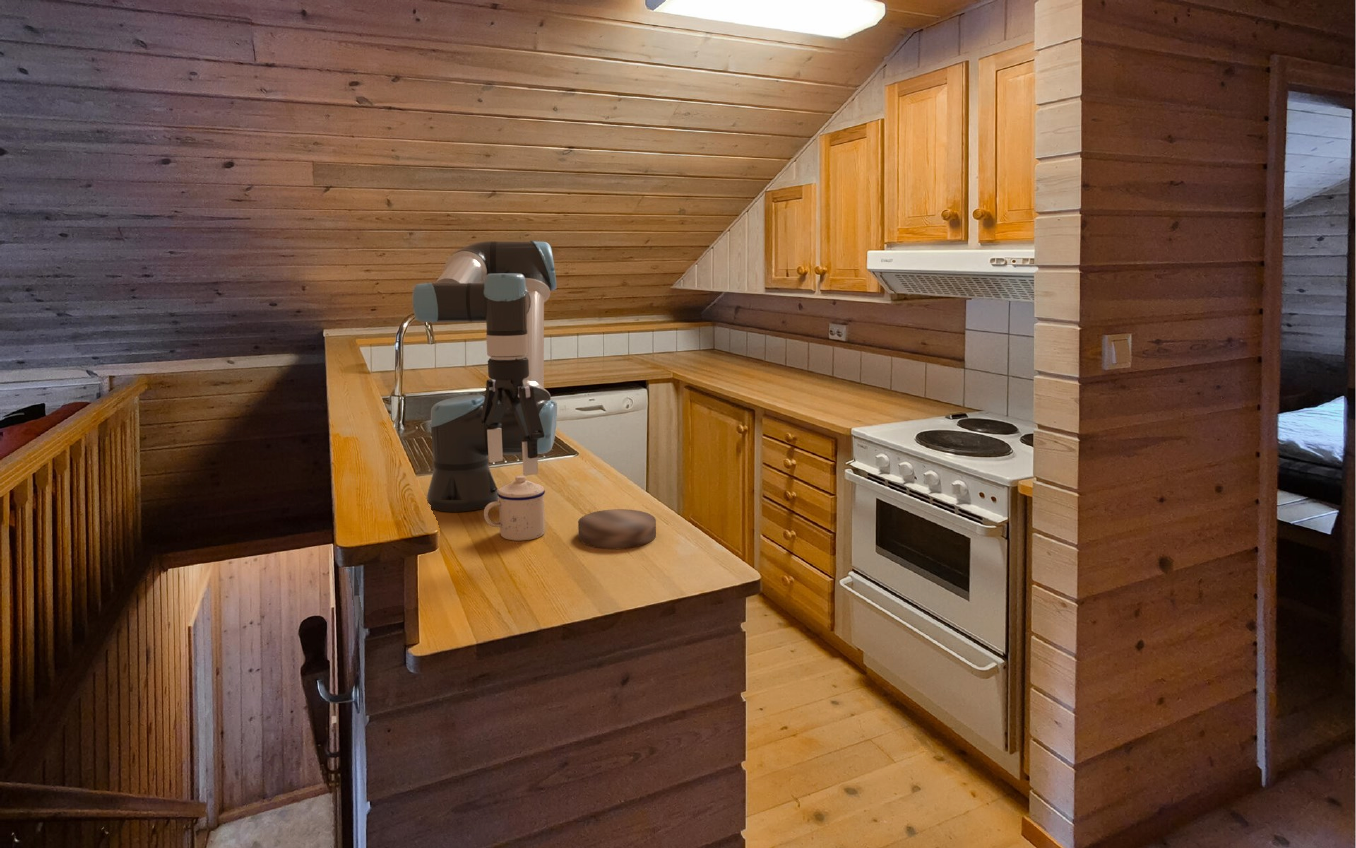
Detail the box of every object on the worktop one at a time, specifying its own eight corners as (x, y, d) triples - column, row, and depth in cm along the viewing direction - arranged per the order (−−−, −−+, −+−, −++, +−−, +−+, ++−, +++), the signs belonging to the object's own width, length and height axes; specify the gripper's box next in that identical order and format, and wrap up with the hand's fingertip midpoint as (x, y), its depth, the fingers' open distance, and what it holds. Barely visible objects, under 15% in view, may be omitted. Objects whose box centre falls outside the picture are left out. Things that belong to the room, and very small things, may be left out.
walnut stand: (607, 554, 155) (607, 539, 154) (563, 534, 166) (563, 519, 165) (671, 537, 164) (671, 522, 164) (625, 518, 175) (625, 504, 175)
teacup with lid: (537, 524, 172) (534, 468, 170) (553, 536, 164) (551, 478, 162) (478, 533, 167) (475, 476, 164) (492, 547, 159) (489, 487, 156)
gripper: (560, 361, 151) (564, 477, 155) (494, 350, 170) (499, 453, 174) (523, 364, 147) (528, 483, 151) (459, 353, 166) (465, 459, 170)
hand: (512, 467), depth 163 cm, fingers open, 13 cm apart
